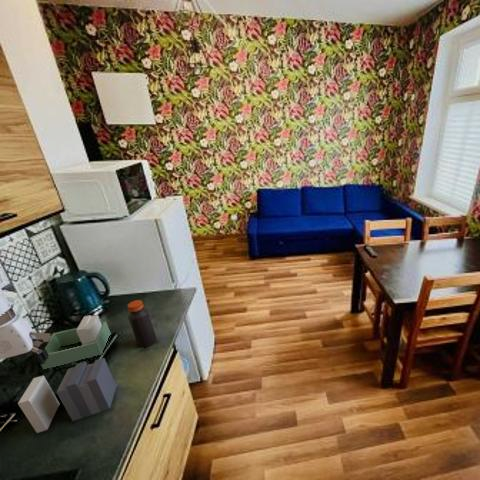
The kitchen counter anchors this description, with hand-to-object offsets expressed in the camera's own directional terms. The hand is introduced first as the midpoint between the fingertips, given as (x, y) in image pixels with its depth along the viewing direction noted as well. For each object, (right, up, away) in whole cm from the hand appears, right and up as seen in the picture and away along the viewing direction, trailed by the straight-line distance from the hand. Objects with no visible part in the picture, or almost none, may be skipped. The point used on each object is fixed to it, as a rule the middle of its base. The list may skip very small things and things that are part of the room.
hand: (22, 366), depth 76 cm
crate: (-12, -9, +32) cm, 35 cm away
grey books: (+11, -18, +12) cm, 24 cm away
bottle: (+12, -7, +37) cm, 39 cm away
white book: (0, -20, +7) cm, 21 cm away
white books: (-7, -8, +34) cm, 35 cm away
